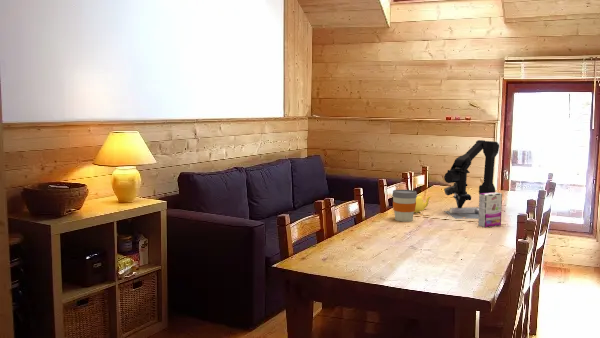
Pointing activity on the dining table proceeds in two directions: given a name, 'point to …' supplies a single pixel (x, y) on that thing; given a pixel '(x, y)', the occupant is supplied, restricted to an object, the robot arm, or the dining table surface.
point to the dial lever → (464, 210)
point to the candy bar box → (490, 209)
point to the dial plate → (464, 215)
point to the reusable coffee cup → (404, 204)
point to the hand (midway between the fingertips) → (459, 210)
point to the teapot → (421, 204)
